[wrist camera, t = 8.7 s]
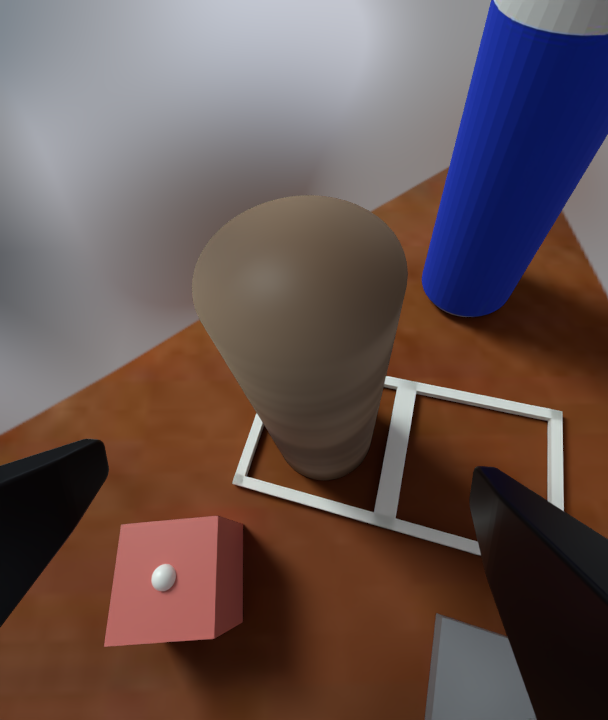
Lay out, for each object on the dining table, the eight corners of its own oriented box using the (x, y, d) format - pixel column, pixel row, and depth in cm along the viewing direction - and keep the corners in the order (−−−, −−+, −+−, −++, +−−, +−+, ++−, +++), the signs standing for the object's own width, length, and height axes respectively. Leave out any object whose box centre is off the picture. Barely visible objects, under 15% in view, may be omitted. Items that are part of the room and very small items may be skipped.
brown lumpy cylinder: (361, 491, 19) (388, 388, 7) (266, 467, 20) (157, 342, 8) (378, 398, 21) (420, 206, 9) (291, 381, 22) (233, 187, 10)
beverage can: (505, 258, 24) (687, -99, 11) (510, 326, 22) (747, -21, 9) (421, 254, 25) (499, -81, 12) (418, 318, 23) (510, -7, 10)
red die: (242, 622, 17) (209, 641, 13) (155, 628, 17) (96, 649, 13) (243, 523, 19) (214, 514, 15) (163, 531, 19) (115, 523, 15)
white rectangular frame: (560, 578, 16) (564, 579, 16) (234, 484, 20) (231, 483, 19) (558, 414, 19) (562, 411, 19) (278, 357, 23) (277, 354, 22)
